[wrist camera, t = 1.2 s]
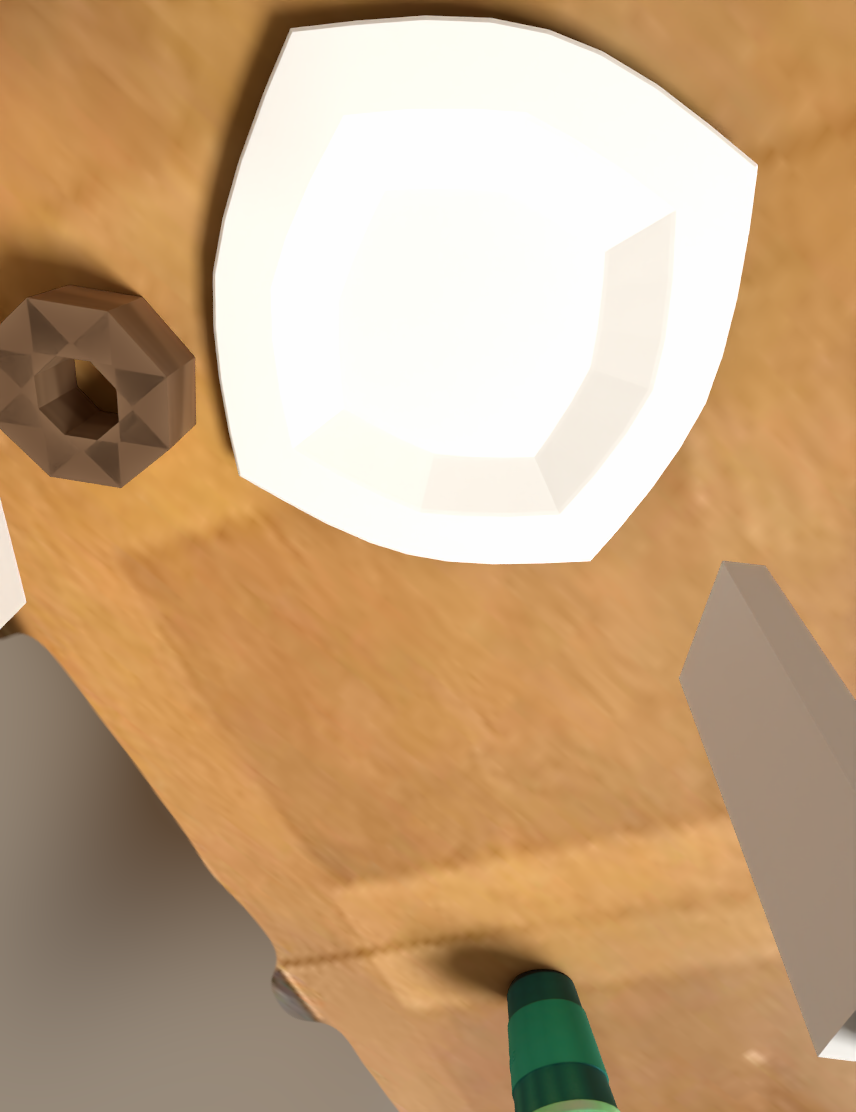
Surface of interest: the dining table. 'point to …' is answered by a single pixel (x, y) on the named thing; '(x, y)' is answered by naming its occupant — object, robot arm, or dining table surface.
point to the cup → (553, 1048)
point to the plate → (472, 285)
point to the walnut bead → (121, 357)
